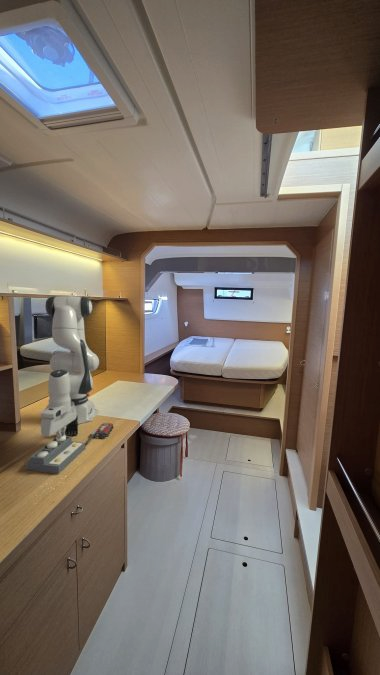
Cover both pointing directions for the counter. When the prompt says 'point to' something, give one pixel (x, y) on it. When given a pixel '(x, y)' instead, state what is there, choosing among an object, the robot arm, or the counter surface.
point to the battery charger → (72, 428)
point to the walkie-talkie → (101, 431)
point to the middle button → (52, 445)
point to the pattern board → (56, 456)
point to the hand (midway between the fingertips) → (60, 436)
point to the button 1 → (42, 454)
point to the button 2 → (61, 439)
